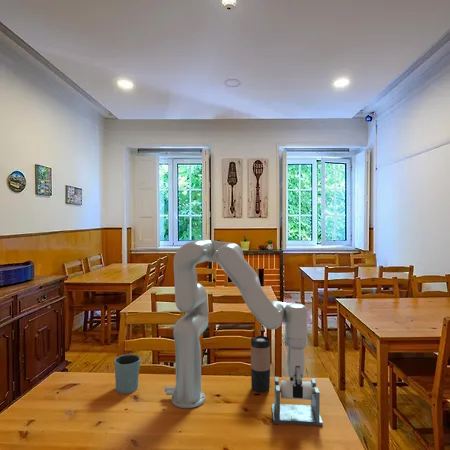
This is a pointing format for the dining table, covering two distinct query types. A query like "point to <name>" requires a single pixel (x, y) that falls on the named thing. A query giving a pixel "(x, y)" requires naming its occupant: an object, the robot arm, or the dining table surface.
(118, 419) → the dining table surface
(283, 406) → the roll holder
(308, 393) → the paper roll
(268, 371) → the travel mug
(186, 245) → the robot arm
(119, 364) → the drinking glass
